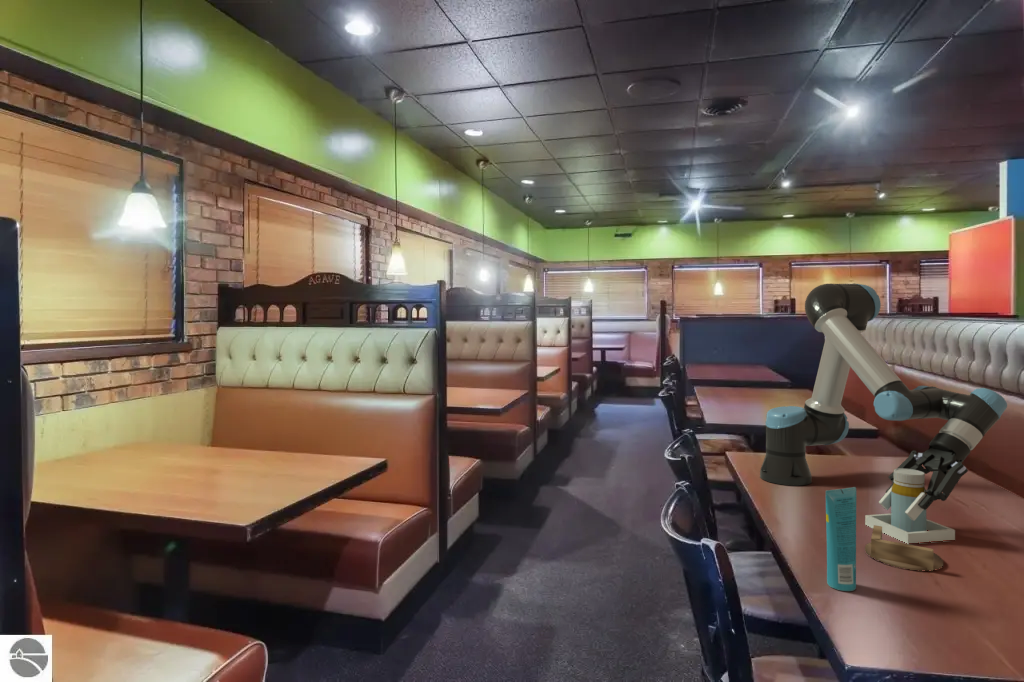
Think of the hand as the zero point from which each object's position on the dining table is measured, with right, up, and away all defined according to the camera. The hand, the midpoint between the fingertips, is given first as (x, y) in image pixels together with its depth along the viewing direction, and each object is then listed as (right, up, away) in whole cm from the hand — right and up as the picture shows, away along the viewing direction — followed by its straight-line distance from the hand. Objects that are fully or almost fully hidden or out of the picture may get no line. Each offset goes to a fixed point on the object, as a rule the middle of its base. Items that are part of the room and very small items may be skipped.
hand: (896, 511), depth 136 cm
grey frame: (+4, -5, +1) cm, 7 cm away
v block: (-8, -6, -13) cm, 17 cm away
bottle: (+4, -6, +1) cm, 7 cm away
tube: (-29, -7, -26) cm, 40 cm away
